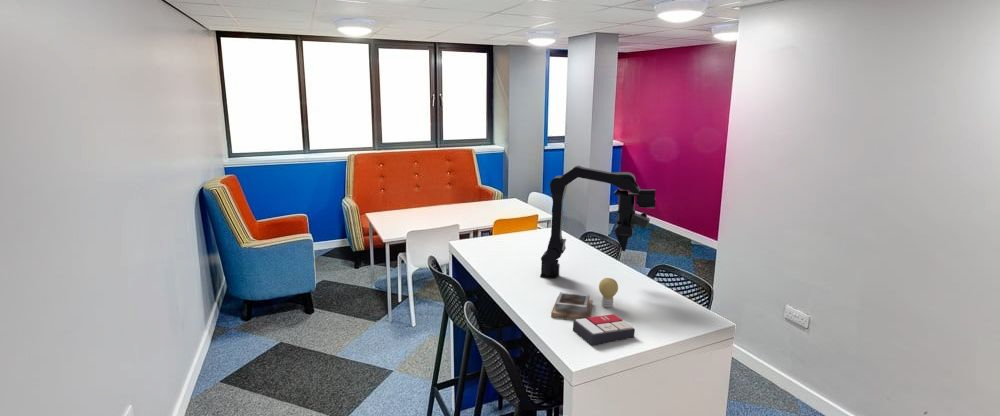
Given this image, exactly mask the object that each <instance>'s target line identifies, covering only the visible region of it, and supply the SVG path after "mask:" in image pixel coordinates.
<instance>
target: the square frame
mask: <svg viewBox="0 0 1000 416" xmlns="http://www.w3.org/2000/svg"><path fill="white" fill-rule="evenodd" d="M593 302H594V301H593V300H591V299H590V295H589V294H580V293H579V294H578V293H572V292H565V291H563V292H562V291H560V292H559V294H558V296H557V297H556V300H555V303H554V305H553V306H552V310H551V312H550V318H556V319H557V318H558V319H563V320H564V319H565V320H573V321H574V320H576V319H584V318H586V319H587V318H588V317H591V316H590V315H591V312H592V308H593Z"/></svg>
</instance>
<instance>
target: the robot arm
mask: <svg viewBox="0 0 1000 416" xmlns="http://www.w3.org/2000/svg"><path fill="white" fill-rule="evenodd" d="M577 178H581V179H585V180H591V181H594V182H595V181H597V182H601V183H605V184H606V183H607V184H609V185H612V186H614V187H616V188H617V189H616V190H615V191H614V192H613V195H614V196H618V202H617V203H618V205H617V206H618V207H617V222H616V223H617V224H616V226H615V228H614V235H615V236H616V240H617V241H618V243H619V246H620V248H621V251H622V252H626V249H627V246H628V242H629V239H630V238H631V237H632V236H633V234H634V228H635V226H636V225H637V226H639V227H642V229H647V227H648V226H649V223H650V220H651V219H650V218H649V217H648V214H647V212H641V213H637V212H636V209H635V205H636V206H638V207H639V208H640V209H641V208H642V209H643V208H644V209H656V189H652V188H651V189H641V188H640V186H639V184H638V183H637V182H636V180H637V179H636V176H635V174H633V173H632V172H629V171H618V172H616V171H614V172H613V171H611V172H610V171H606V170H601V169H594V168H590V167H589V168H588V167H584V166H581V165H575V166H574V167H573V168H572V169H570V170H569V171H567V172H566V173H564V174H563V175H556V176H555V177H554V178H553V179H552V180H551V181H550V184H549V187H550V188H549V189H550V190H549V191H550V195H551V200H552V209H551V210H552V211H551V226H550V227H551V230H550V231H551V232H550V238H549V241H548V245H547V249H546V251H544V253H543V254H542V256H541V257H540V261H541V268H540V269H541V272H540V275H539V277H540V278H546V279H558V276H559V275H560V270H561V269H560V268H561V267H560V266H561V265H560V263H559V258H561V256H562V254H564V252H565V251H566V249H567V248H566V242H567V238H563V235H562V233H563V231H562V230H563V214H564V210H563V209H564V200H565V196H566V194H567V189H568V185H569V184H571V183H572V182H573V181H574V180H576V179H577ZM635 197H636V199H635ZM635 200H636V201H635ZM635 203H636V204H635Z"/></svg>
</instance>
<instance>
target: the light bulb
mask: <svg viewBox="0 0 1000 416" xmlns="http://www.w3.org/2000/svg"><path fill="white" fill-rule="evenodd" d="M598 290H599V293H600V294H601V296H602V297H601V299H602V300H601V306H602V307H604V308H606V309H607V308H609V309H610V308H611V307H613V306H614V296H616V294H617V293H618V291H619V286H618V281H616V280H615V279H614V278H611V277H606V278H605V277H604V278H602V279H601V280H600V282H599V284H598Z"/></svg>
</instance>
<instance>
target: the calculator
mask: <svg viewBox="0 0 1000 416" xmlns="http://www.w3.org/2000/svg"><path fill="white" fill-rule="evenodd" d="M572 324H573V325H572V332H573V333H575V334H576V335H577V336H578V337H580V338H581V340H583V341H584V342H586V343H587V344H588V345H590V346H591V347H595V346H601V345H604V344H607V343H613V342H619V341H624V340H629V339H634V338H635V331H636V329H635V328H634V327H633V325H631V324H629V323H628V322H626V321H625V320H623V319H622V318H620V317H619V316H617V315H616V314H613V313H611V314H605V315H604V314H603V315H595V316H590V317H588V318H587V319H586V318H584V319H576V320H573V323H572Z"/></svg>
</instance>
